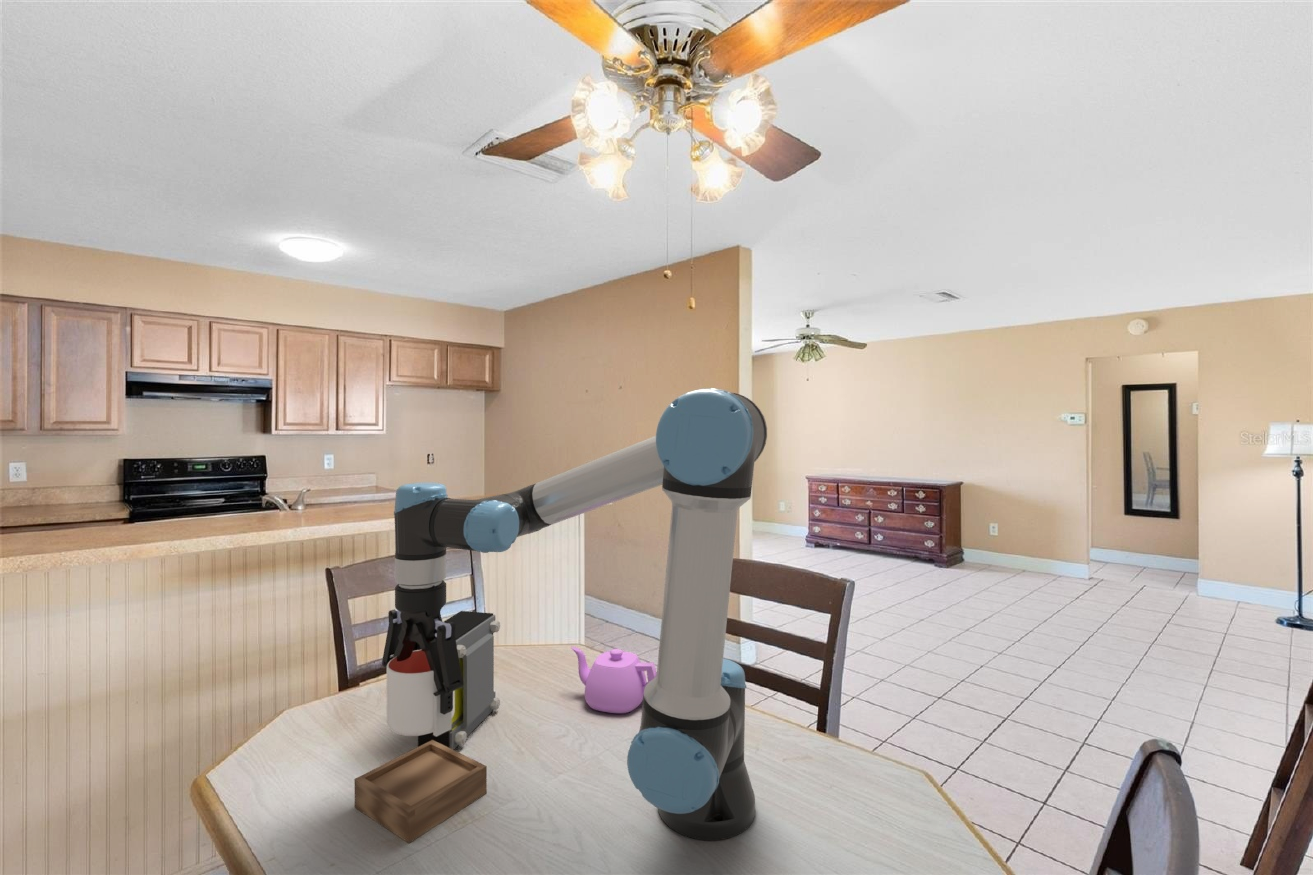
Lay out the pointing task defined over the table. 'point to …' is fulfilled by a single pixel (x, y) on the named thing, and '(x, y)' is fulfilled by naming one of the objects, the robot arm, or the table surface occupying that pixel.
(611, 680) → the teapot
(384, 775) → the wooden tray
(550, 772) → the table surface
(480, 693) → the electrical component
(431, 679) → the cup
